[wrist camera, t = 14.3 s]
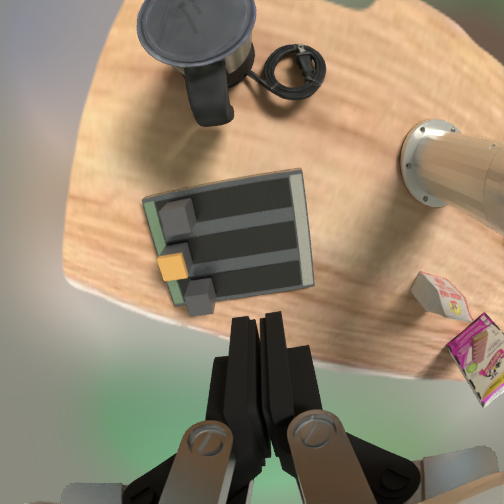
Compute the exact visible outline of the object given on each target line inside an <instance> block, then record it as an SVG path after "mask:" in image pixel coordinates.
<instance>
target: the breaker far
mask: <svg viewBox="0 0 504 504" xmlns="http://www.w3.org/2000/svg"><path fill="white" fill-rule="evenodd" d="M184 298H185V301H186V304H187V307H188V310H189V313H190V316H199V315H207V314H213V312H214V307H215V301H216V294H215V290H214V287H213V283H212V279H211V278H207V279H200V280H193V281H190V282H189V284H188V287H187V290H186V293H185V296H184Z"/></svg>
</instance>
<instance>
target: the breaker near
mask: <svg viewBox="0 0 504 504" xmlns="http://www.w3.org/2000/svg"><path fill="white" fill-rule="evenodd" d="M159 215H160V218H161V222H162V226H163V229H164V233H165V236H166V237H168V236H173V235H179V234H184V233H190V232H191V231H192V229H193V227H194V225H195V223H196V221H197V220H196V216H195V211H194V207H193V203H192V199H191V198H187V199H182V200H177V201H172V202H168V203H167V204H166V205H165V206H164V207H163V208H162V209H161V210H160V211H159Z"/></svg>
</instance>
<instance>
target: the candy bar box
mask: <svg viewBox="0 0 504 504" xmlns="http://www.w3.org/2000/svg"><path fill="white" fill-rule="evenodd" d="M446 346H447V348H448V350H449V353H450V355H451V357H452V359H453V360H454V362H455V363H456V365H457V366H458V368H459V369H460V371H461V372H462V374H463V375H464V377H465V379H466V380H467V382H468V384H469V385H470V387H471V389H472V390H473V392H474V394H475V395H476V397H477V399H478V401H479V403H480V404H481V406H482V408H484V407H486V406H487V405H489V404H490V403H491V402H492V401H493V400H494V399H496V398H497V397H498V396H500V395H501V394H502V393H503V392H504V333H503V332H502V331H501V330H500V329H499V328H498V326H497V325H496V324H495V323H494V322H493V321H492V320H491V318H490V317H489V316H488V315H487V314H486V313H485V312H484V313H483V314H482V315H481V316H480V317H479V318H478V319H476V320H475V321H474V322H473V323H472V324H471V325H470V326H469V327H467V328H466V329H465V330H464V331H463V332H462V333H460V334H459V335H458V336H457V337H456V338H454V339H453V340H452V341H451V342H449V343H448V344H447V345H446Z"/></svg>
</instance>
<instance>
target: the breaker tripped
mask: <svg viewBox="0 0 504 504" xmlns="http://www.w3.org/2000/svg"><path fill="white" fill-rule="evenodd" d="M157 261H158V264H159V267H160V271H161V274H162V277H163V280H164V281H171V280H178V279H185V278H188V275H189V272H190V270H191V267H192V264H193V261H192V258H191V254H190V250H189V247H188V243H187V242H185V243H179V244H173V245H168V246H165V247H164V249H163V250H162V252H161V254H160V255H159V257H158V258H157Z"/></svg>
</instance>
